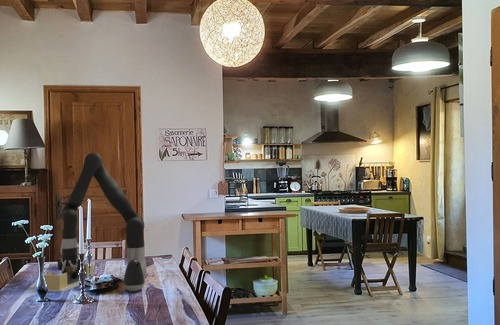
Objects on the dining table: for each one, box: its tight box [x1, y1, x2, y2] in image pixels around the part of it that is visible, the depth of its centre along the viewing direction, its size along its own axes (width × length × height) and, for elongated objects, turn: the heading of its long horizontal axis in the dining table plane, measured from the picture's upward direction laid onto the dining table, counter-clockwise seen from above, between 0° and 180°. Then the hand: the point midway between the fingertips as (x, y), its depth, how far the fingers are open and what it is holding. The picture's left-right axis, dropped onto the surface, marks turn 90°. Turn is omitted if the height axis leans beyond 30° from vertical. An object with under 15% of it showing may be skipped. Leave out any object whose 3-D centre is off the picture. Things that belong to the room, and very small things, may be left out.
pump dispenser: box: [123, 260, 146, 293], centre depth 238 cm, size 10×10×15 cm
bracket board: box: [43, 263, 94, 293], centre depth 255 cm, size 12×30×8 cm, turn 165°
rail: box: [67, 269, 85, 285], centre depth 255 cm, size 5×22×5 cm, turn 165°
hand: (70, 278), depth 255 cm, fingers open, 6 cm apart
